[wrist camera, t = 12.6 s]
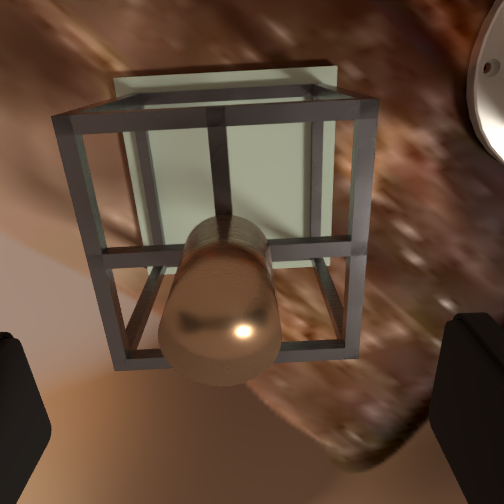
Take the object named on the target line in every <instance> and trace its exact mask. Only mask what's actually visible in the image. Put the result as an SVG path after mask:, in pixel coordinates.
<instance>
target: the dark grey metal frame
mask: <svg viewBox="0 0 504 504" xmlns="http://www.w3.org/2000/svg"><path fill="white" fill-rule="evenodd" d="M308 96H311V100H309V101H291V102H272V103H254V104H235V105H217V106H198V107H180V108H161V109H145V107H144V105H160V104H179V103H197V102H216V101H234V100H253V99H271V98H290V97H308ZM378 109H379V98H376V97H372V96H368V95H365V94H361V93H357V92H354V91H350V90H346V89H343V88H339V87H336V86H332V85H328V84H325V83H313V84H294V85H276V86H257V87H239V88H220V89H202V90H183V91H165V92H146V93H131V94H127V95H124V96H120V97H117V98H113V99H110V100H106V101H103V102H99V103H96V104H92V105H89V106H85V107H82V108H78V109H75V110H71V111H68V112H64V113H61V114H57V115H54V116H51V118H52V122H53V126H54V130H55V134H56V138H57V142H58V146H59V150H60V154H61V158H62V162H63V166H64V170H65V174H66V178H67V182H68V186H69V190H70V194H71V198H72V202H73V206H74V210H75V214H76V218H77V222H78V226H79V230H80V234H81V238H82V242H83V246H84V250H85V254H86V258H87V262H88V266H89V270H90V274H91V278H92V282H93V286H94V290H95V294H96V298H97V302H98V306H99V310H100V314H101V318H102V322H103V326H104V330H105V334H106V338H107V342H108V346H109V350H110V354H111V358H112V362H113V366H114V369H115V371H129V370H146V369H147V370H148V369H166V368H174V369H175V370H176V371H177V372H179V373H180V374H181V375H183V376H185V377H186V378H188V379H190V380H193V381H195V382H198V383H201V384H206V385H211V386H231V385H237V384H241V383H244V382H247V381H249V380H252V379H254V378H256V377H257V376H259V375H260V374H262V373H263V372H264V371H266V370H267V369H268V368H269V367H270V366H271V364H272V363H284V362H303V361H323V360H342V359H358V357H359V345H360V332H361V320H362V307H363V295H364V283H365V270H366V258H367V245H368V233H369V221H370V208H371V196H372V183H373V171H374V159H375V146H376V134H377V122H378ZM339 120H354V135H353V152H352V170H351V187H350V205H349V222H348V235H339V236H321V205H322V167H323V128H324V121H339ZM301 122H311V166H310V237H301V238H282V239H267V238H266V236H265V235H264V233H263V232H262V231H261V229H260V228H259V227H258V226H257V225H255V224H254V223H253V222H251V221H249V220H247V219H245V218H243V217H239V216H235V215H233V205H232V192H231V178H230V164H229V151H228V137H227V126H246V125H264V124H283V123H301ZM190 128H207V130H208V141H209V152H210V162H211V173H212V184H213V195H214V205H215V216H213V217H210V218H208V219H206V220H204V221H202V222H201V223H199V224H198V225H197V226H196V227H195V228H194V229H193V230H192V231H191V232H190V234H189V236H188V237H187V240H186V243H185V244H168V245H166V243H165V237H164V231H163V224H162V218H161V211H160V205H159V198H158V192H157V185H156V179H155V172H154V166H153V159H152V153H151V146H150V140H149V133H148V131H153V130H171V129H190ZM134 131H135V137H136V143H137V149H138V154H139V160H140V166H141V172H142V178H143V184H144V190H145V196H146V202H147V208H148V214H149V220H150V226H151V232H152V238H153V244H154V245H149V246H130V247H111V248H107V245H106V241H105V236H104V232H103V228H102V223H101V219H100V214H99V210H98V205H97V201H96V196H95V192H94V187H93V183H92V178H91V174H90V169H89V165H88V160H87V156H86V151H85V147H84V143H83V138H82V134H97V133H115V132H134ZM342 256H347V257H346V275H345V292H344V308H343V306H342V303H341V301H340V299H339V296H338V294H337V291H336V289H335V286H334V284H333V281H332V279H331V276H330V274H329V271H328V269H327V266H326V264H325V261H324V259H323V257H342ZM302 260H311V262H312V265H313V268H314V271H315V274H316V277H317V280H318V283H319V286H320V289H321V292H322V295H323V298H324V301H325V304H326V307H327V310H328V313H329V316H330V319H331V322H332V325H333V327H334V330H335V333H336V336H337V339H336V340H317V341H298V342H282V332H281V324H280V317H279V310H278V303H277V296H276V289H275V282H274V274H273V267H272V262H283V261H302ZM152 266H153V268H152V270H151V273H150V275H149V277H148V280H147V282H146V284H145V286H144V289H143V291H142V293H141V295H140V298H139V300H138V302H137V305H136V307H135V309H134V312H133V314H132V316H131V318H130V321H129V323H128V325H127V328H126V330H125V326H124V322H123V317H122V313H121V308H120V304H119V299H118V295H117V290H116V286H115V281H114V277H113V272H112V269H114V268H133V267H152ZM169 267H178V268H177V271H176V274H175V277H174V280H173V283H172V286H171V289H170V293H169V296H168V299H167V302H166V305H165V308H164V311H163V314H162V318H161V321H160V324H159V329H158V341H159V345H160V349H144V350H137V347H138V344H139V341H140V339H141V336H142V333H143V331H144V328H145V325H146V323H147V320H148V317H149V315H150V312H151V309H152V307H153V304H154V301H155V299H156V296H157V293H158V290H159V288H160V285H161V282H162V280H163V277H164V274H165V272H166V269H167V268H169Z"/></svg>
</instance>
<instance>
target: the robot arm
mask: <svg viewBox="0 0 504 504" xmlns="http://www.w3.org/2000/svg"><path fill="white" fill-rule="evenodd" d="M485 64H486V65H487V68H486V70H485V71H484V72H483V68H484V66H485ZM466 98H467V105H468V111H469V117H470V120H471V123H472V125H473V128H474V131H475V133H476V136H477V137H478V139H479V140H480V142H481V143H482V145H483V146H484V148H485V149H486V150H487V152H489V153H490V154H491V155H492V156H493V157H494V158H495V159H496V160H498V161H499V162H500V163H502V164H503V165H504V0H495V2H494V4H493V6H492V7H491V9H490V11H489V13H488V15H487V16H486V18H485V20H484V22H483V24H482V26H481V28H480V31H479V34H478V36H477V39H476V41H475V44H474V47H473V49H472V54H471V58H470V63H469V68H468V73H467V94H466ZM429 421H430V425H431V428H432V430H433V432H434V434H435V436H436V438H437V440H438V442H439V444H440V446H441V449H442V451H443V452H444V455H445V457H446V459H447V461H448V463H449V464H450V467H451V469H452V471H453V473H454V475H455V477H456V479H457V481H458V484H459V486H460V487H461V490H462V492H463V494H464V496H465V498H466V500H467V502H468V504H504V330H503V329H502V328H501V327H500V326H499V325H498V324H497V323H496V321H495V320H494V319H493V318H492V317H491V316H490V315H489V314H487V313H484V312H481V313H458V314H456V315H455V316H454V318H453V320H451V321H447V323H446V325H445V329H444V334H443V339H442V345H441V350H440V355H439V360H438V365H437V371H436V376H435V381H434V386H433V391H432V397H431V402H430V407H429ZM50 437H51V423H50V420H49V418H48V415H47V412H46V409H45V407H44V404H43V401H42V399H41V396H40V393H39V391H38V388H37V385H36V383H35V380H34V377H33V374H32V372H31V369H30V366H29V364H28V361H27V358H26V355H25V353H24V350H23V347H22V345H21V343H20V341H19V340H18V339H16V338H14V337H13V336H12V335H11V334H10V333H8V332H0V504H16V503H17V501H18V499H19V497H20V495H21V494H22V491H23V490H24V488H25V486H26V484H27V482H28V480H29V478H30V476H31V474H32V473H33V471H34V469H35V467H36V465H37V463H38V461H39V460H40V457H41V456H42V454H43V452H44V450H45V448H46V446H47V444H48V442H49V440H50Z"/></svg>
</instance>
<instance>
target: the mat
mask: <svg viewBox="0 0 504 504" xmlns="http://www.w3.org/2000/svg"><path fill="white" fill-rule="evenodd" d="M113 81H114V87H115V92H116V98H117V97H120V96H124V95H127V94H131V93H146V92H165V91H183V90H202V89H220V88H239V87H257V86H276V85H294V84H313V83H325V84H328V85H332V86H336V87H337V66H320V67H302V68H283V69H265V70H247V71H228V72H210V73H191V74H173V75H155V76H136V77H118V78H113ZM309 100H311V96H308V97H290V98H271V99H253V100H234V101H216V102H197V103H179V104H160V105H144V107H145V109H161V108H180V107H198V106H217V105H235V104H254V103H272V102H291V101H309ZM148 133H149V140H150V146H151V153H152V159H153V166H154V172H155V179H156V185H157V192H158V198H159V205H160V211H161V218H162V224H163V231H164V237H165V243H166V245H168V244H185V243H186V240H187V237H188V236H189V234H190V232H191V231H192V230H193V229H194V228H195V227H196V226H197V225H198V224H199V223H201V222H202V221H204V220H206V219H208V218H210V217H213V216H215V205H214V195H213V184H212V173H211V162H210V152H209V141H208V130H207V128H190V129H171V130H153V131H148ZM123 136H124V142H125V147H126V153H127V158H128V164H129V170H130V175H131V181H132V186H133V192H134V197H135V203H136V208H137V214H138V219H139V225H140V230H141V236H142V241H143V246H149V245H154V244H153V238H152V232H151V226H150V220H149V214H148V208H147V202H146V196H145V190H144V184H143V178H142V172H141V166H140V160H139V154H138V149H137V143H136V137H135V131H134V132H123ZM227 137H228V151H229V164H230V178H231V192H232V205H233V215H235V216H239V217H243V218H245V219H247V220H249V221H251V222H253V223H254V224H255V225H257V226H258V227H259V228H260V229H261V231H262V232H263V233H264V235H265V236H266V238H267V239H282V238H301V237H310V166H311V122H301V123H283V124H264V125H246V126H227ZM334 142H335V121H324V128H323V167H322V205H321V236H331V222H332V195H333V169H334ZM323 259H324V261H325V264H326V266H330V257H323ZM272 267H273V269H276V268H295V267H313V265H312V262H311V260H302V261H283V262H272ZM152 268H153V266H152V267H147V269H148V275H150V273H151V270H152ZM177 268H178V267H169V268H167V269H166V272H165V274H176V271H177Z"/></svg>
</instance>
